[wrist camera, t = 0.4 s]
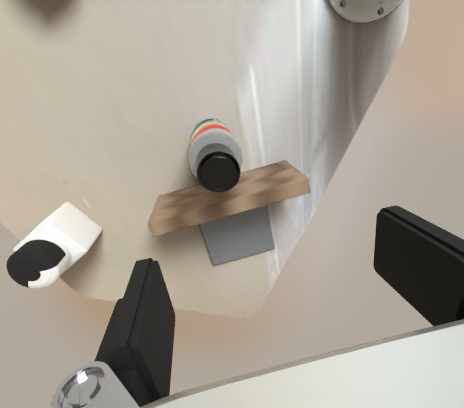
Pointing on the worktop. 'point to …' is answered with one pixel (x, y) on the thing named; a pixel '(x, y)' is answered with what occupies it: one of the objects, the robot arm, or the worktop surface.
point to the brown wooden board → (227, 198)
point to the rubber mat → (238, 235)
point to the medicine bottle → (52, 247)
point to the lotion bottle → (214, 156)
